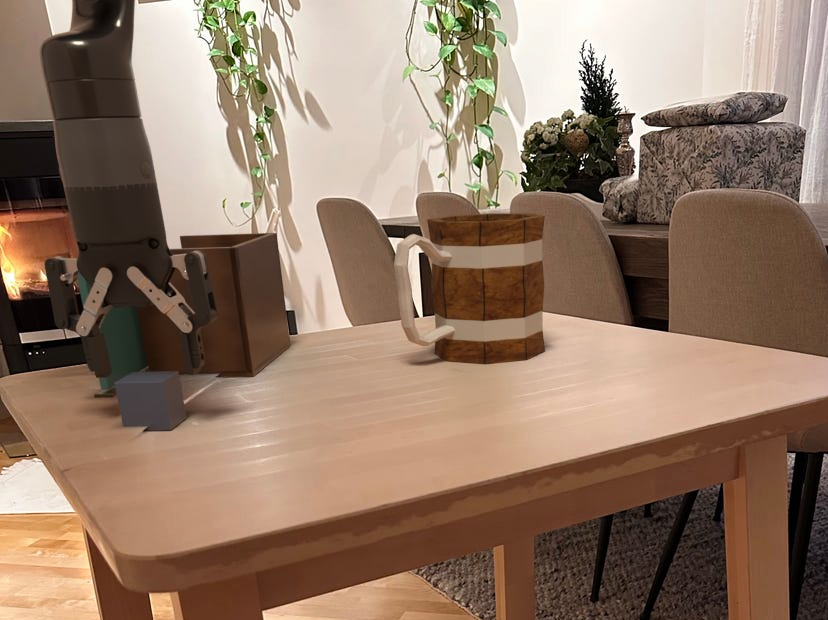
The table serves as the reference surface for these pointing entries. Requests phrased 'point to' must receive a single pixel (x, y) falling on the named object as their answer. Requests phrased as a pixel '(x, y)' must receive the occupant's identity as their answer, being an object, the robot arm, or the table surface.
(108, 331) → the sliding door
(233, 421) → the table surface
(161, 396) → the block
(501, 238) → the mug
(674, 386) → the table surface
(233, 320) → the cubby
